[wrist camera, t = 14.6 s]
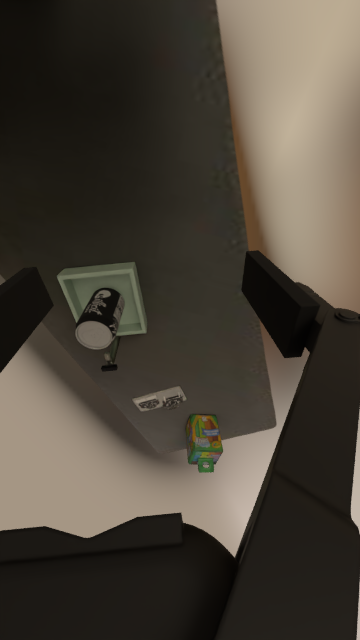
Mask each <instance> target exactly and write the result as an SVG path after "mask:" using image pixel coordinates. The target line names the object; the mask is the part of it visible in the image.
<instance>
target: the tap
mask: <svg viewBox="0 0 360 640" xmlns="http://www.w3.org/2000/svg"><path fill="white" fill-rule="evenodd" d="M120 338H121V335H120V336H116V337H115V338H114V340H113V342H112V345H111V349H110V352H105V353H104V357H105V359H106V365H105V366H102V368H101V369H102V372H103V371H113V370H117V368H118V367H117V364H115V365H114V361H115V357H116V353H117V349H118V346H119V342H120Z"/></svg>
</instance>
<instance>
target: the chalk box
mask: <svg viewBox="0 0 360 640" xmlns="http://www.w3.org/2000/svg"><path fill="white" fill-rule="evenodd" d="M186 441H187V455H188V463H189V464H198V470H199V472H214V464H216V462H217V461H218V459H219V457H220V456H221V454H222V452H223V448H222V444H221V438H220V432H219V427H218V422H217V417H216V415H194V414H191V415H190V417H189V420H188V423H187V426H186ZM203 465H209V467H208V468H204V467H203Z"/></svg>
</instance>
